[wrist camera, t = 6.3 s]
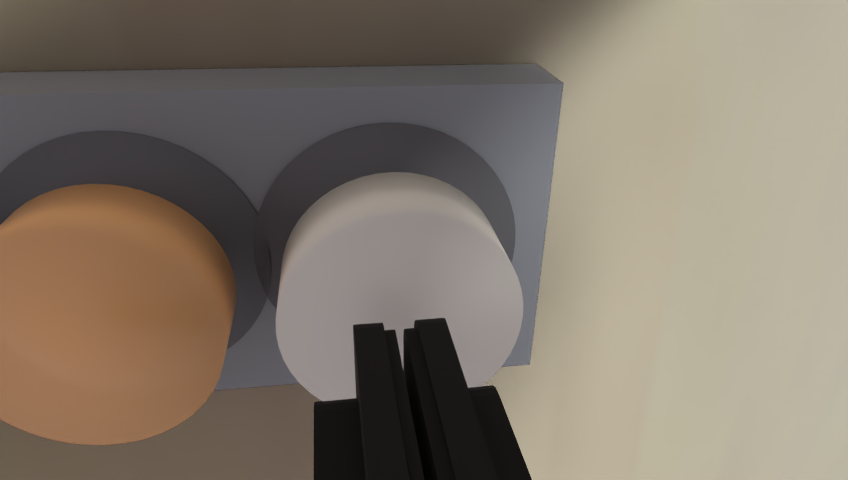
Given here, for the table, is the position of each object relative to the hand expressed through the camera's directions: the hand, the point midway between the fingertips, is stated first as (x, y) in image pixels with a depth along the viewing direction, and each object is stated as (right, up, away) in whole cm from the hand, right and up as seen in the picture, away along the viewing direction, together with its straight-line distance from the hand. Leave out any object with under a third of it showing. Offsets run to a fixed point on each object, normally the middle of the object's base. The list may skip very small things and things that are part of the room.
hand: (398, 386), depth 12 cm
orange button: (-6, +2, +2) cm, 7 cm away
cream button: (0, +2, +3) cm, 3 cm away
